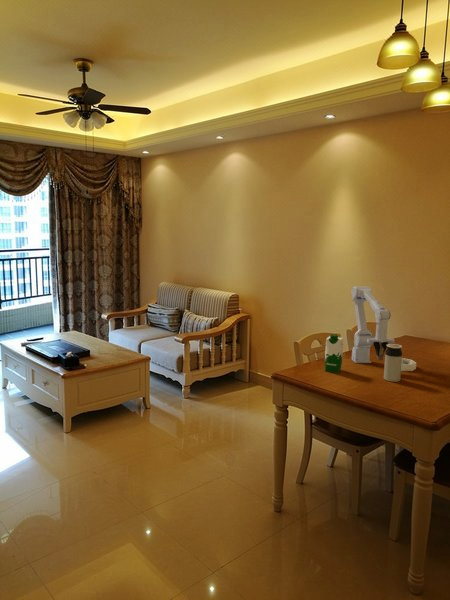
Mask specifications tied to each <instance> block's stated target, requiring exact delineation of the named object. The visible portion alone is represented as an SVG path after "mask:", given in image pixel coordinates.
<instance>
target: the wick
mask: <svg viewBox="0 0 450 600" xmlns="http://www.w3.org/2000/svg"><path fill="white" fill-rule="evenodd" d="M383 351H384V348H383V347H382V346H381V345H380V349H379V356H377V355H376V359H377V360H378V361H384V356H383Z"/></svg>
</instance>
